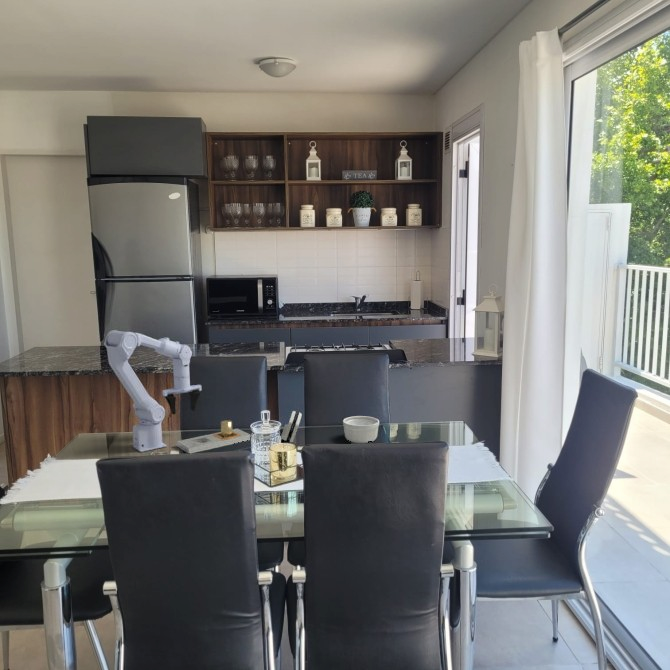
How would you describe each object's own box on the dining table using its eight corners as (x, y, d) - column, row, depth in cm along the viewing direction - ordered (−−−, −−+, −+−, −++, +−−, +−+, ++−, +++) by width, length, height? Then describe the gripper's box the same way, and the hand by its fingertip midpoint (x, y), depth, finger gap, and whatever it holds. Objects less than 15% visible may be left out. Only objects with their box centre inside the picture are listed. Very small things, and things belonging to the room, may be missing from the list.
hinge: (283, 429, 227) (291, 405, 225) (295, 432, 227) (303, 409, 225) (278, 442, 210) (287, 417, 209) (291, 446, 210) (300, 421, 209)
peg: (224, 443, 210) (223, 424, 209) (219, 440, 213) (218, 421, 213) (234, 440, 213) (233, 422, 212) (229, 438, 216) (228, 419, 215)
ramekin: (382, 434, 218) (382, 416, 217) (375, 445, 205) (375, 426, 204) (347, 432, 221) (347, 414, 220) (339, 443, 209) (339, 424, 208)
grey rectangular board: (189, 453, 199) (188, 447, 199) (177, 446, 207) (177, 440, 206) (250, 439, 213) (250, 434, 213) (237, 433, 221) (237, 428, 221)
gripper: (166, 380, 208) (168, 417, 210) (204, 375, 217) (205, 410, 219) (159, 377, 214) (161, 413, 216) (196, 372, 223) (197, 407, 224)
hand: (183, 411), depth 218 cm, fingers open, 7 cm apart
